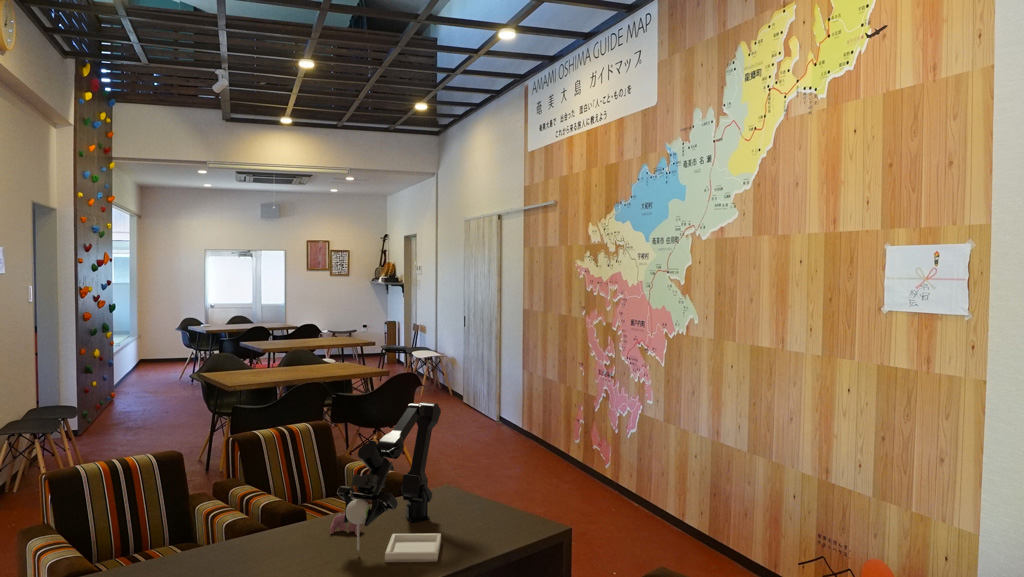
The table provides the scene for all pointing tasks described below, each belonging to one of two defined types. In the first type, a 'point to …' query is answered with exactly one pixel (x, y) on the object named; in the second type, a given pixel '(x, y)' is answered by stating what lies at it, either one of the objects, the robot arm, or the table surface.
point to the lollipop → (357, 514)
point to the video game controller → (343, 524)
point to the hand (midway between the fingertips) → (355, 524)
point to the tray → (413, 548)
